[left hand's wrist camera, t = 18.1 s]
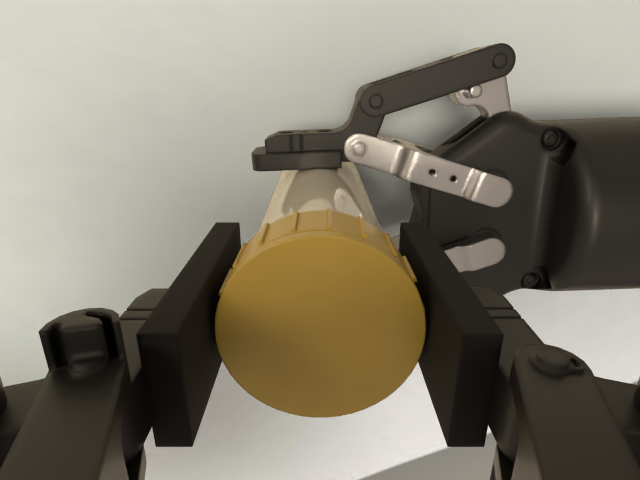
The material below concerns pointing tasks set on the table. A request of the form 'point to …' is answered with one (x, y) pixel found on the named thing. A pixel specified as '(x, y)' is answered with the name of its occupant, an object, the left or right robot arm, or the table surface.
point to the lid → (320, 315)
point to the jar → (321, 194)
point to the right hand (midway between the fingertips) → (261, 217)
